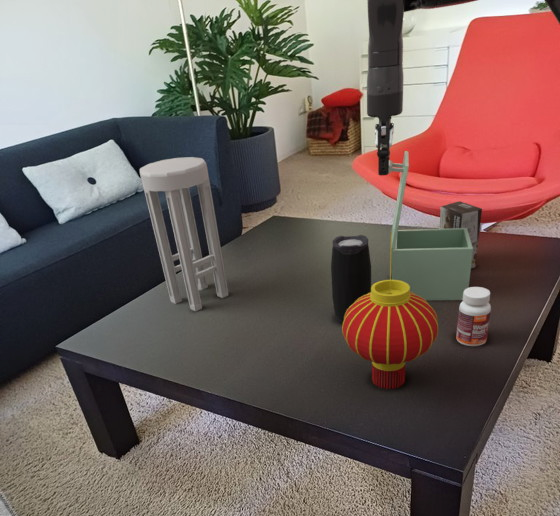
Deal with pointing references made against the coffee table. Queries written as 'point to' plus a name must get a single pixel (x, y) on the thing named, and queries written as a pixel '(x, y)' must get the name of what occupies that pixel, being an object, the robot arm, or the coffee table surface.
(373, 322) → the lantern
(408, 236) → the chest
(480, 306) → the pill bottle
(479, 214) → the coffee box
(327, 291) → the coffee table surface
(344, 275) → the portable speaker
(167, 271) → the stool
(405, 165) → the lid
